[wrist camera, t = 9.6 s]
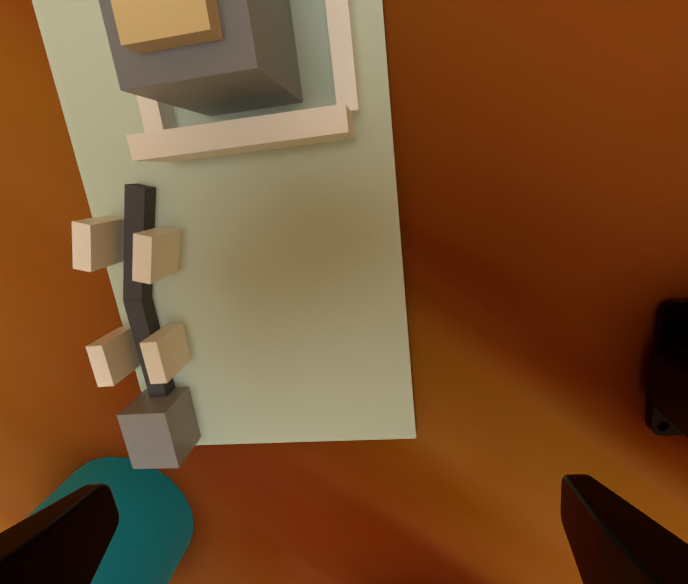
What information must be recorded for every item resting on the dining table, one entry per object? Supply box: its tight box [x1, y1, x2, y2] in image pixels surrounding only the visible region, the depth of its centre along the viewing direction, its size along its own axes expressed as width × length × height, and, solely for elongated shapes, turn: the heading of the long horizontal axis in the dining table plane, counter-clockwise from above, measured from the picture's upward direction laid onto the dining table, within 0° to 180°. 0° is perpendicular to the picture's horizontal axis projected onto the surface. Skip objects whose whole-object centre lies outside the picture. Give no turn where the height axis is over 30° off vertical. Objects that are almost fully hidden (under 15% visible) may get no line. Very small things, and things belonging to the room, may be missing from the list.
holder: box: [126, 0, 361, 162], centre depth 15 cm, size 9×7×3 cm
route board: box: [32, 0, 416, 445], centre depth 19 cm, size 14×23×1 cm, turn 7°
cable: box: [123, 183, 175, 397], centre depth 19 cm, size 2×10×1 cm, turn 7°
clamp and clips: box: [72, 215, 201, 469], centre depth 19 cm, size 4×12×2 cm, turn 7°
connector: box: [98, 0, 303, 116], centre depth 13 cm, size 4×4×7 cm
